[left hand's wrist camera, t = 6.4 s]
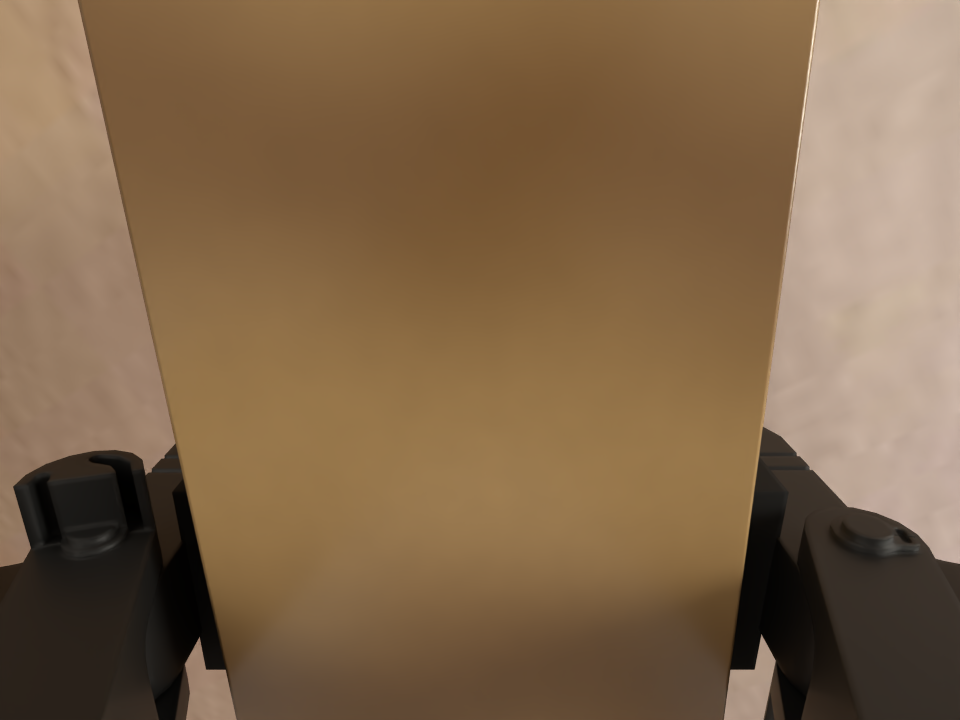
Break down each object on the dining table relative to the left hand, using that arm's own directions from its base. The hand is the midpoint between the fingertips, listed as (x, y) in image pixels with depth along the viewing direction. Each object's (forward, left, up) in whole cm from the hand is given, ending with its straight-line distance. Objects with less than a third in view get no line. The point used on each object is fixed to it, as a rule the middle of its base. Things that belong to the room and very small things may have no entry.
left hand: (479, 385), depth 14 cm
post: (+23, 0, -1) cm, 23 cm away
